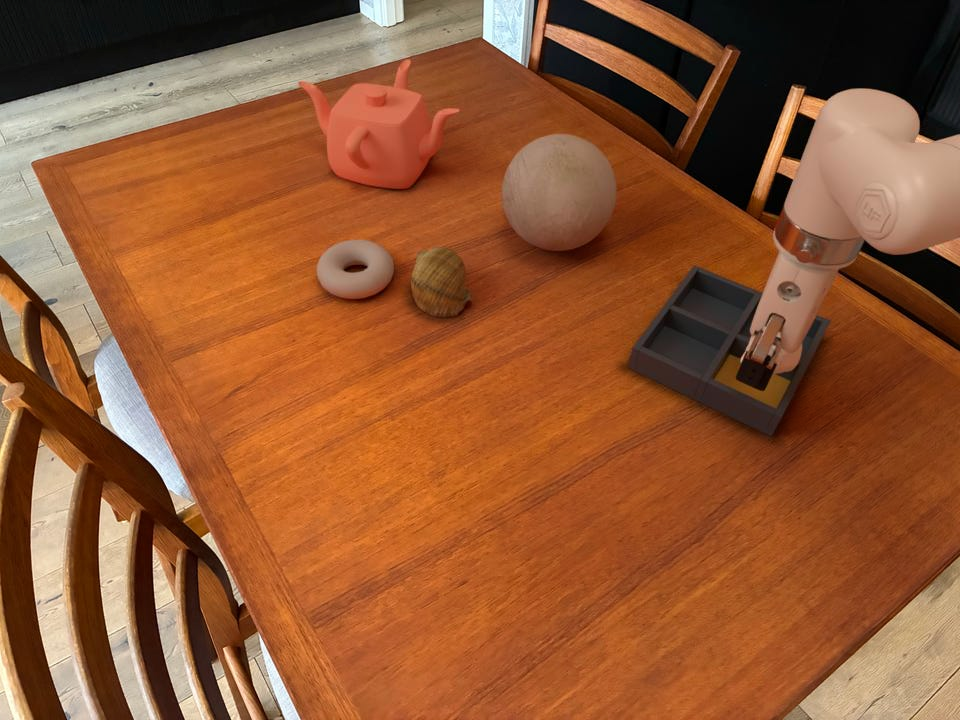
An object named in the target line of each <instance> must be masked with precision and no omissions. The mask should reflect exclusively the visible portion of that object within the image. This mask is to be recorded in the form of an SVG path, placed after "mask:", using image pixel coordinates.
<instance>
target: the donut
mask: <svg viewBox="0 0 960 720" xmlns="http://www.w3.org/2000/svg"><path fill="white" fill-rule="evenodd" d="M358 265H359V266H365V267H367V268H365V269H363V270H361V271H356V272H350V271H345V269H347V268H349V267H352V266H358ZM394 272H395V263H394V259H393V257H392V255H391V254H390V252H389V251H388V249H387V248H385V247H383V245H381V244H379V243H377V242H374V241H372V240H368V239H362V238H361V239H359V238H357V239H355V238H354V239H346V240H344V241H340V242H338V243H335V244H334V245H331V246H330V247H329V248H327V249H326V251H324V252H323V253H322V254H321V255H320V258H319V260H318V262H317V265H316V277H317V280H318V281H319V283H320V285H321V287H322V288H323V289H324V290H326V291H327V292H329V294H331V295H333V296H335V297H338V298H341V299H349V300H357V299H359V300H360V299H365V298H368V297H371V296H375V295H376V294H378V293H380V292H381V291H383V290H384V289H385V288H386V287H387V286H388V285H389V284H390V282H391V281H392V278H393V277H394V276H393V275H394V274H395V273H394Z"/></svg>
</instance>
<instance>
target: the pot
mask: <svg viewBox="0 0 960 720" xmlns="http://www.w3.org/2000/svg"><path fill="white" fill-rule="evenodd" d="M411 63H412V61H411V59H404V60H403V61H402V62H401V63H400V64H399V66H398V68H397V72H396V76H395V80H394V83H393V86H391V85H384V84H375V83H363V82H361V83H355V84H353V85H352V86H351V87H350V88H348V89H347V90H346V91H345V93H343V95H342V96H341V97H340V98H339V99H338V101H337V102H336V103H335V105H333V107H332V108H331V106H330V104H329V102H328V100H327V98H326V97H325V94H324V93H323V92H322V90H321V89H320V88H319V87H318V86H316V85H315V84H313V83H311V82H308V81H303V80H300V81H297V84H298V86H299V87H301V88H302V89H303V90H304V92H306V93H307V94H308V95H309V97H310V99H311V100H312V102H313V105H314V110H315V113H316V117H317V122H318V125H319V127H320V129H321V131H322V133H323V134H324V136H325V137H326V152H327V154H326V155H327V161H328V164H329V166H330V168H331V169H332V171H333V172H334V174H335V175H336V176H338V177H340V178H342V179H345V180H348V181H351V182H354V183H356V184H357V183H359V184H361V185H366V186H371V187H377V188H384V189H394V190H404V189H405V190H406V189H409V188H411V187H412V186H413V185H414V184H415V183H416V181H417V180H418V179H419V177H420V176H421V175H422V173H423V171H424V170H425V168H426V167H427V165H428V163H429V161H430V159H431V158H433V156H434V155H436V153H438V151H439V149H440V148H441V145H442V143H443V137H444V131H445V125H446V123H447V120H448V119H449V118H450V117H452V116H453V115H457V114H458V113H459V112H460V109H459V108H452V107H450V108H449V107H447V108H443V109H440V110H439V111H438V112H437V113H436V114H435V115H434V117H433V120H432V119H431V116H430V113H429V110H428V106H427V103H426V101H425V99H424V96H423V95H422V94H420V93H418V92H415V91H412V90H410V89H409V88H410V87H409V73H410V68H411Z"/></svg>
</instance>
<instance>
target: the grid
mask: <svg viewBox="0 0 960 720" xmlns="http://www.w3.org/2000/svg"><path fill="white" fill-rule="evenodd" d="M762 294H763V291H762V292H761V291H759V290H756V289H754V288H752V287H749V286H747V285H744V284H742V283H739V282H737V281H734V280H731V279H729V278H727V277H725V276H722V275H719V274H717V273H714V272H713V271H710V270H707V269H706V268H702V267H700V266H697V265H695V264H693V266H692V267H691V268H690V269H689V271H688V273H687V274H686V275H685V276H684V278H683V279H682V280H681V282H680V283H679V284H678V286H677V287H676V289H675V290H674V291H673V293H672V294H671V295H670V296H669V298H667V301H666V302H665V303H664V305H662V307H661V309H660V310H659V311H658V313H657V314H656V315H655V317H654V318H653V319H652V321H651V322H650V323H649V325H648V326H647V328H646V329H645V330H644V332H643V333H642V334H641V335H640V337H639V338H638V340H637V341H636V342H635V344H634V345H633V346H632V349H631V353H630V357H629V360H628V365H627V368H628V369H629V370H632V371H633V372H636V373H638V374H640V375H641V376H644V377H646V378H648V379H650V380H652V381H654V382H656V383H658V384H660V385H663V386H665V387H667V388H669V389H671V390H673V391H675V392H677V393H679V394H682V395H684V396H685V397H688V398H690V399H691V400H693V401H696V402H698V403H700V404H703V405H704V406H706V407H708V408H711V409H712V410H714V411H717V412H719V413H721V414H723V415H725V416H727V417H729V418H731V419H733V420H736V421H738V422H740V423H742V424H744V425H745V426H747V427H750V428H752V429H754V430H756V431H759V432H760V433H762V434H765V435H767V436H769V437H773V435H774V433H775V431H776V429H777V427H778V425H779V424H780V422H781V420H782V418H783V416H784V414H785V411H786V410H787V409H788V406H789V404H790V402H791V401H792V398H793V396H794V395H795V393H796V390H797V388H798V387H799V385H800V383H801V381H802V379H803V377H804V375H805V374H806V371H807V369H808V367H809V366H810V363H811V361H812V359H813V358H814V355H815V353H816V352H817V349H818V348H819V346H820V343H821V342H822V340H823V339H824V335H825V334H826V332H827V330H828V328H829V326H830V324H831V323H832V320H830V319H828V318H826V317H823V316H821V315H819V314H817V316H816V318H815V319H814V321H813V323H812V325H811V327H810V329H809V331H808V333H807V334H806V336H805V338H804V340H803V342H802V352H801V357H800V360H799V362H798V364H797V365H796V367H795V368H794V369H793V370H792V371H788V372H783V373H778V374H772V377H771V379H770V381H769V383H768V385H767V387H766V389H765V391H760V390H757V389H755V388H753V387H751V386H749V385H746V384H744V383H742V382H740V381H738V380H736V375H737V372H738V370H739V367H740V365H741V362H740V360H741V357H742V356H743V354H744V353H745V351H746V348H747V346H748V344H749V341H750V339H751V336H752V335H751V333H750V327H751V324H752V321H753V318H754V315H755V313H756V310H757V307H758V304H759V302H760V299H761V296H762Z"/></svg>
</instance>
